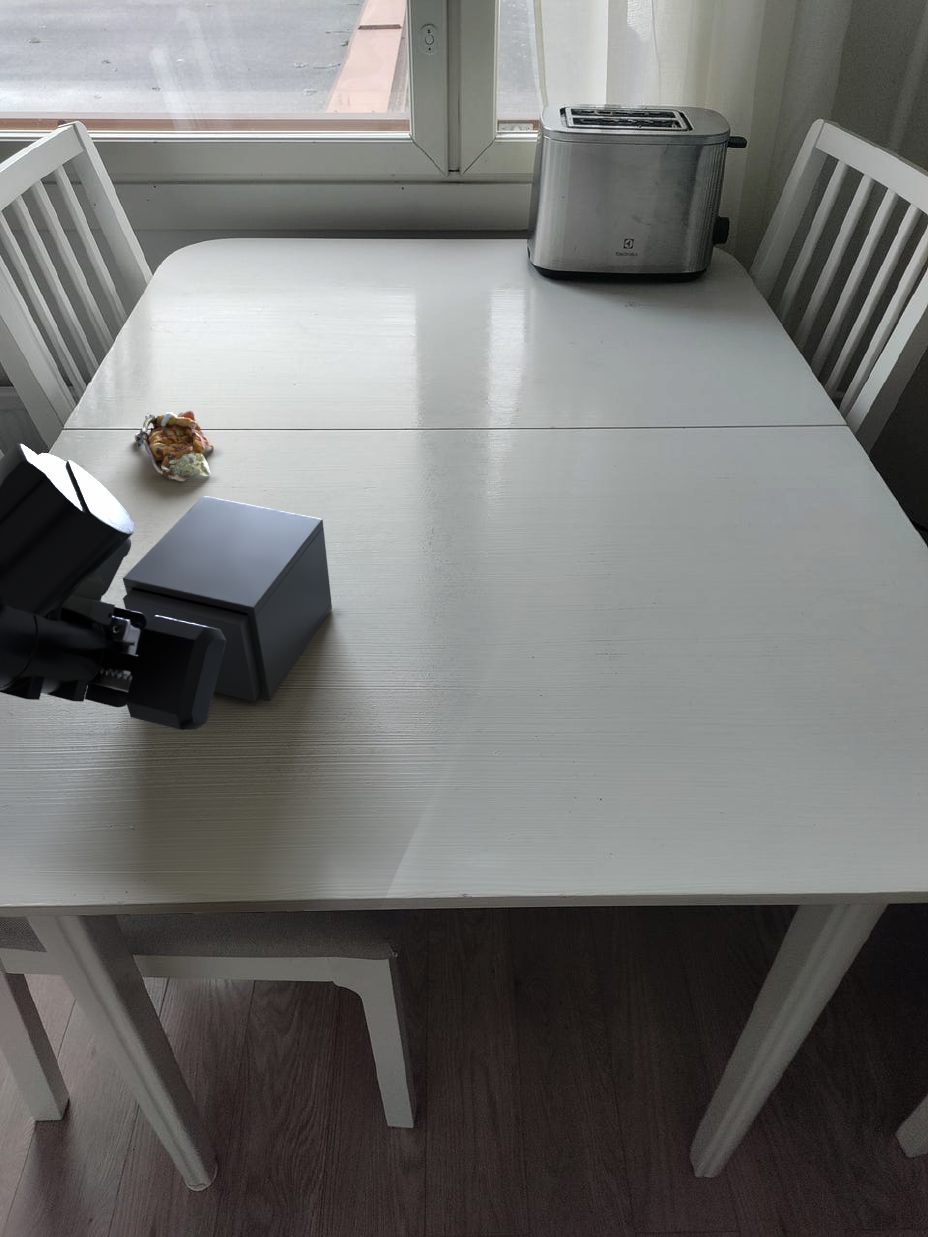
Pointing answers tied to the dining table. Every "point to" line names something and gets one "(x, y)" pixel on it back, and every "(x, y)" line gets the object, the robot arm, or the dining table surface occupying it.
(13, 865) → the dining table surface
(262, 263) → the dining table surface
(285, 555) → the dark grey box
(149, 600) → the fryer drawer
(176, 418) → the pastry
